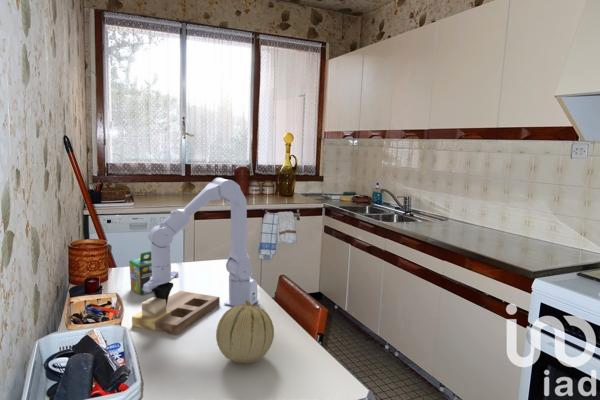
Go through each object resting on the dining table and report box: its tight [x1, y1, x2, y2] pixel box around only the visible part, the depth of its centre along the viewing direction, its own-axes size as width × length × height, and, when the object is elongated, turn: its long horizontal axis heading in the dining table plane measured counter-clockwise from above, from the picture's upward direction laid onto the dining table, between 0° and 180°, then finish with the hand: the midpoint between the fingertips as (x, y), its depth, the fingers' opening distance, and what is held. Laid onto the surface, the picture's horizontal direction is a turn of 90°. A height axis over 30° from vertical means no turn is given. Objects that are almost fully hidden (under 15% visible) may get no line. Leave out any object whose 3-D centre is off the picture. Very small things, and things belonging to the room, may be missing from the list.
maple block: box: [141, 296, 166, 318], centre depth 131 cm, size 5×5×4 cm
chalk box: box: [128, 251, 154, 296], centre depth 159 cm, size 9×9×15 cm
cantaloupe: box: [215, 301, 275, 364], centre depth 109 cm, size 15×15×15 cm
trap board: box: [131, 290, 221, 336], centre depth 137 cm, size 16×24×3 cm, turn 160°
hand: (162, 306), depth 135 cm, fingers closed
